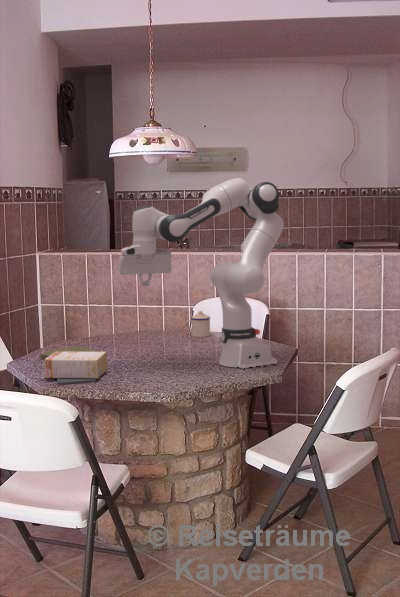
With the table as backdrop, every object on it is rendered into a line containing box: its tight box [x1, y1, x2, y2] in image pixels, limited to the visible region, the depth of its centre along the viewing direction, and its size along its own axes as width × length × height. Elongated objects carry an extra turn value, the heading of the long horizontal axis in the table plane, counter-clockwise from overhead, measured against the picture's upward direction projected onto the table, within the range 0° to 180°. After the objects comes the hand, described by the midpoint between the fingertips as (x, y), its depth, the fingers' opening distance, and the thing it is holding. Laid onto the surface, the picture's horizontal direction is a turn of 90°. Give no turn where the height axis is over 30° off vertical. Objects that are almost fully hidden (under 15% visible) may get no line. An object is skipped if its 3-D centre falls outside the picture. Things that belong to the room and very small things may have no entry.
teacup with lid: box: [184, 310, 211, 338], centre depth 347 cm, size 12×9×12 cm
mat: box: [55, 378, 96, 386], centre depth 267 cm, size 13×16×1 cm
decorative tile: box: [39, 345, 102, 360], centre depth 302 cm, size 19×20×4 cm
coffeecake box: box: [43, 351, 108, 379], centre depth 270 cm, size 15×7×20 cm
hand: (145, 285), depth 282 cm, fingers closed
